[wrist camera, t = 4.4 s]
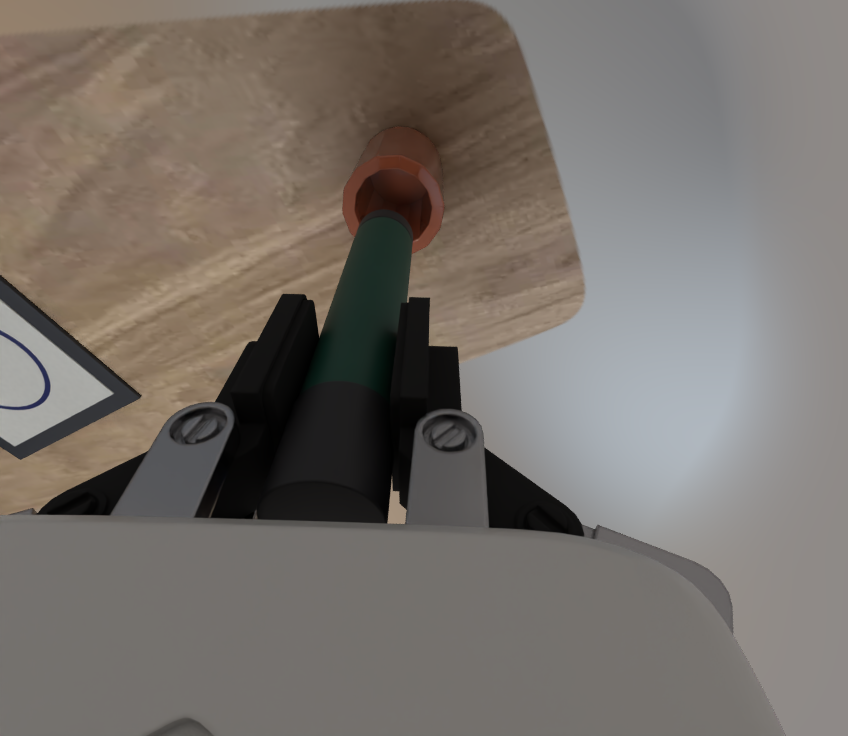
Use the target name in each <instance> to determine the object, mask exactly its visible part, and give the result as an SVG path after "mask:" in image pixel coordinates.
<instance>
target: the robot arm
mask: <svg viewBox="0 0 848 736" xmlns="http://www.w3.org/2000/svg"><path fill="white" fill-rule="evenodd" d="M429 308H430V298H418V297H409V303H402V302H401V307H400V315H399V324H398V332H397V340H396V348H395V357H394V365H393V373H392V382H391V391H390V424H391V442H392V445H393V449H394V458H393V469H392V482H393V491H399V495H400V496H399V497H400V504H401V505H402V506H403V507H404V508H405V509H406V510H407V512H406V522H405V524H384V523H356V522H325V521H292V520H258V518H257V505H258V502H259V499H260V496H261V493H262V491H263V488H264V485H265V482H266V479H267V477H268V474H269V471H270V468H271V465H272V463H273V460H274V457H275V454H276V452H277V449H278V446H279V443H280V440H281V438H282V435H283V432H284V429H285V426H286V424H287V421H288V418H289V415H290V413H291V410H292V407H293V404H294V402H295V400H296V399H297V398H298V396H299V394H300V391H301V389H302V386H303V383H304V380H305V377H306V374H307V372H308V369H309V366H310V363H311V360H312V357H313V355H314V352H315V349H316V346H317V343H318V340H319V334H318V326H317V319H316V312H315V305H314V302H313V300H307V298H306V296H305V294H282V296H281V298H280V299H279V301H278V303H277V305H276V307H275V309H274V311H273V313H272V314H271V316H270V318H269V320H268V322H267V324H266V326H265V328H264V329H263V331H262V333H261V335H260V337H259V339H258V341H251V342H249V343H248V344H247V346H246V347H245V349H244V351H243V353H242V354H241V356H240V358H239V360H238V362H237V363H236V365H235V367H234V369H233V371H232V372H231V374H230V376H229V378H228V380H227V381H226V383H225V385H224V387H223V389H222V390H221V392H220V394H219V396H218V398H217V399H216V401H215V402H204V403H198V404H194V405H190V406H188V407H186V408H184V409H182V410H179V411H178V412H177V413H175V414H174V415H172V416H171V417H170V418H169V419H168V420H167V422H166V423H165V424H164V426H163V427H162V429H161V431H160V432H159V434H158V436H157V437H156V439H155V441H154V442H153V444H152V446H151V447H150V449H149V451H147V452H145V453H143V454H141V455H139V456H137V457H135V458H133V459H131V460H129V461H127V462H125V463H123V464H120V465H118V466H116V467H114V468H112V469H110V470H108V471H106V472H104V473H102V474H100V475H98V476H96V477H94V478H92V479H90V480H88V481H86V482H83V483H81V484H79V485H77V486H75V487H73V488H71V489H69V490H67V491H65V492H63V493H62V494H60V495H58V496H57V497H55V498H53V499H52V500H51V501H49V502H48V503H47V504H46V505H45V506H44V507H42V508H41V510H40V511H39V512H38V513H37V512H36V511H35V510H34V509H33V508H31V509H28V510H24V511H20V512H17V513H13V514H9V515H0V736H786V735H785V733H784V731H783V728H782V726H781V724H780V722H779V720H778V718H777V716H776V714H775V712H774V710H773V708H772V706H771V704H770V702H769V700H768V698H767V696H766V694H765V692H764V690H763V688H762V686H761V684H760V682H759V681H758V679H757V677H756V675H755V673H754V671H753V669H752V667H751V665H750V663H749V661H748V660H747V658H746V656H745V655H744V653H743V651H742V649H741V647H740V646H739V644H738V642H737V640H736V639H735V637H734V635H733V613H732V603H731V599H730V595H729V592H728V591H727V589H726V588H725V586H724V585H723V583H722V582H721V580H720V579H719V578H718V577H716V576H715V575H714V574H713V573H712V572H711V571H710V570H709V569H707V568H705V567H703V566H701V565H700V564H698V563H696V562H694V561H691V560H689V559H686V558H683V557H681V556H678V555H675V554H673V553H670V552H668V551H665V550H662V549H660V548H657V547H654V546H652V545H649V544H647V543H644V542H642V541H639V540H636V539H634V538H631V537H628V536H626V535H623V534H621V533H618V532H615V531H612V530H610V529H607V528H605V527H602V526H600V525H597V527H596V529H592V528H589V527H587V526H584V525H582V524H581V522H580V521H579V519H578V518H577V516H576V515H575V514H574V513H573V512H572V511H571V510H570V509H569V508H568V507H567V506H566V505H564V504H563V503H561V502H560V501H559V500H557V499H556V498H554V497H553V496H552V495H550V494H549V493H547V492H546V491H544V490H543V489H541V488H540V487H539V486H537V485H536V484H535V483H533V482H532V481H531V480H529V479H528V478H526V477H525V476H523V475H522V474H521V473H519V472H518V471H517V470H515V469H514V468H512V467H511V466H509V465H508V464H507V463H505V462H504V461H503V460H501V459H500V458H498V457H497V456H496V455H494V454H493V453H491V452H490V451H489V450H487V449H486V448H484V436H483V431H482V427H481V425H480V424H479V422H478V421H477V420H476V419H475V418H474V417H472V416H471V415H469V414H467V413H465V412H463V411H462V410H461V395H460V394H461V393H460V377H459V360H458V348H457V347H445V346H429Z"/></svg>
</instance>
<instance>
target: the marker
mask: <svg viewBox="0 0 848 736" xmlns="http://www.w3.org/2000/svg"><path fill="white" fill-rule="evenodd" d="M412 245H413V232H412V229H411V226H410V224H409V223H408V221H407V220H406V219H405V218H404V217H403V216H402V215H400V214H399V213H397V212H395V211H392V210H386V209H380V210H376V211H373V212H371V213H369V214H367V215H366V216H365V217H364V218H363V219H362V221H361V222H360V224H359V227H358V230H357V232H356V235H355V238H354V241H353V244H352V247H351V250H350V252H349V255H348V258H347V261H346V264H345V267H344V269H343V272H342V275H341V278H340V281H339V284H338V286H337V289H336V292H335V295H334V298H333V301H332V303H331V306H330V309H329V312H328V315H327V318H326V320H325V323H324V326H323V329H322V332H321V335H320V338H319V340H318V343H317V346H316V349H315V352H314V355H313V357H312V360H311V363H310V366H309V369H308V372H307V374H306V377H305V380H304V383H303V386H302V389H301V391H300V394H299V396H298V398H297V399H296V400H295V402H294V404H293V407H292V410H291V413H290V415H289V418H288V421H287V424H286V426H285V429H284V432H283V435H282V438H281V440H280V443H279V446H278V449H277V452H276V454H275V457H274V460H273V463H272V465H271V468H270V471H269V474H268V477H267V479H266V482H265V485H264V488H263V491H262V493H261V496H260V499H259V502H258V505H257V518H258V520H292V521H325V522H356V523H384V524H387V521H388V511H389V499H390V490H391V479H392V469H393V458H394V449H393V445H392V442H391V424H390V391H391V382H392V373H393V365H394V357H395V348H396V340H397V332H398V324H399V315H400V307H401V302H402V303H407V295H408V285H409V275H410V265H411V255H412Z"/></svg>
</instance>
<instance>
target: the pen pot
mask: <svg viewBox="0 0 848 736" xmlns="http://www.w3.org/2000/svg"><path fill="white" fill-rule="evenodd" d="M380 209H386V210H392V211H395V212H397V213H399V214H400V215H402V216H403V217H404V218H405V219H406V220H407V221H408V223H409V224H410V226H411V229H412V232H413V245H412V254H413V253H415V252H417V251H419V250H421V249H423V248H425V247H426V246H428V245H429V243H430V242H431V241H432V239H433V238H434V237H435V235H436V234H437V233H438V231H439V230H440V228H441V223H442V218H443V213H444V186H443V169H442V165H441V159H440V156H439V153H438V151H437V149H436V147H435V146H434V144H433V143H432V142H431V140H430V139H429V138H428V137H427V136H425V135H424V134H423V133H421V132H419V131H418V130H415V129H413V128H409V127H402V126H399V127H391V128H388V129H385V130H383V131H381V132H380V133H378V134H377V135H375V136H374V137H373V138H372V139H371V140H370V142H369V143H368V145H367V147H366V148H365V150H364V152H363V153H362V155H361V157H360V159H359V161H358V163H357V165H356V166H355V168H354V170H353V172H352V174H351V176H350V178H349V180H348V182H347V183H346V185H345V187H344V192H343V207H342V211H343V215H344V218H345V220H346V223H347V226H348V228H349V231H350V233H351V234H352V235H353V236H354V237H355V235H356V232H357V230H358V227H359V224H360V222H361V221H362V219H363V218H364V217H365V216H366V215H367V214H369V213H371V212H373V211H376V210H380Z"/></svg>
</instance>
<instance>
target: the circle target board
mask: <svg viewBox="0 0 848 736" xmlns="http://www.w3.org/2000/svg"><path fill="white" fill-rule="evenodd" d="M140 397H141V395H139V394H138V393H137V392H136V391H135V390H134V389H132V388H131V387H130V386H129V385H128V384H126V383H125V382H124V381H123V380H122V379H121V378H119V377H118V376H117V375H116V374H115V373H114V372H112V371H111V370H110V369H109V368H108V367H107V366H105V365H104V364H103V363H102V362H101V361H100V360H98V359H97V358H96V357H95V356H94V355H92V354H91V353H90V352H89V351H88V350H87V349H85V348H84V347H83V346H82V345H81V344H80V343H78V342H77V341H76V340H75V339H74V338H73V337H71V336H70V335H69V334H68V333H67V332H66V331H64V330H63V329H62V328H61V327H60V326H58V325H57V324H56V323H55V322H54V321H53V320H51V319H50V318H49V317H48V316H47V315H46V314H44V313H43V312H42V311H41V310H40V309H39V308H37V307H36V306H35V305H34V304H33V303H32V302H30V301H29V300H28V299H27V298H26V297H24V296H23V295H22V294H21V293H20V292H19V291H17V290H16V289H15V288H14V287H13V286H12V285H10V284H9V283H8V282H7V281H6V280H5V279H3V278H2V277H1V276H0V447H2V448H3V449H5V450H6V451H8V452H9V453H11V454H12V455H14V456H15V457H17V458H18V459H20V460H21V459H23V458H25V457H27V456H29V455H31V454H33V453H35V452H37V451H39V450H40V449H42V448H44V447H46V446H48V445H50V444H52V443H54V442H56V441H58V440H60V439H62V438H64V437H66V436H68V435H70V434H72V433H74V432H75V431H77V430H79V429H81V428H83V427H85V426H87V425H89V424H91V423H93V422H95V421H97V420H99V419H101V418H103V417H105V416H107V415H108V414H110V413H112V412H114V411H116V410H118V409H120V408H122V407H124V406H126V405H128V404H130V403H132V402H134V401H136V400H138V399H140Z"/></svg>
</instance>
